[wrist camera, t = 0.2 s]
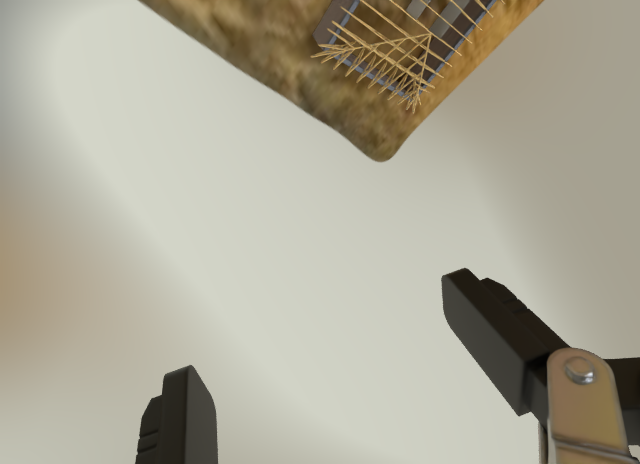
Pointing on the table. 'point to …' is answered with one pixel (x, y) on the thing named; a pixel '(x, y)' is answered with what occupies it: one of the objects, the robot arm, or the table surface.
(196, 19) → the table surface
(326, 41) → the rafter model
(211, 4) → the table surface
